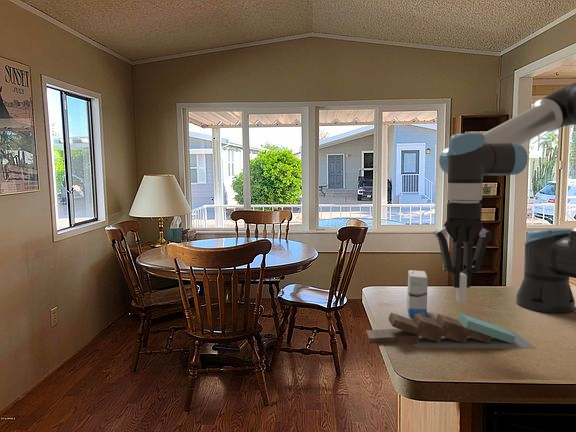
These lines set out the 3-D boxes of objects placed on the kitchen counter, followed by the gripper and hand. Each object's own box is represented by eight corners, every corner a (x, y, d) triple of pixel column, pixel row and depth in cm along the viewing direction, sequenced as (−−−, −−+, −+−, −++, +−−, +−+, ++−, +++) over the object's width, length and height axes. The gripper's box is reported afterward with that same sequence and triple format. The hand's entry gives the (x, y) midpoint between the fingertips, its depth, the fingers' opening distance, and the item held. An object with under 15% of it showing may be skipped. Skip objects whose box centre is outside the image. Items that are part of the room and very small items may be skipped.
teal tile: (505, 328, 108) (460, 313, 108) (515, 336, 103) (468, 320, 103) (502, 335, 108) (457, 320, 108) (512, 343, 103) (465, 327, 103)
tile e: (413, 327, 109) (366, 330, 109) (419, 335, 103) (369, 338, 104) (413, 334, 109) (366, 337, 109) (419, 343, 104) (369, 345, 104)
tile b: (483, 328, 108) (438, 313, 108) (492, 336, 103) (445, 320, 103) (480, 335, 108) (435, 320, 108) (489, 343, 103) (442, 327, 103)
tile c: (460, 328, 108) (415, 313, 108) (467, 336, 103) (420, 320, 103) (457, 335, 108) (412, 319, 108) (465, 343, 103) (418, 327, 103)
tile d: (435, 327, 108) (390, 312, 108) (442, 335, 103) (395, 319, 103) (432, 334, 109) (388, 319, 109) (439, 342, 103) (392, 326, 103)
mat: (514, 333, 110) (515, 331, 110) (535, 349, 100) (536, 348, 100) (405, 333, 111) (405, 331, 111) (415, 349, 101) (415, 347, 101)
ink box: (427, 319, 121) (428, 277, 120) (408, 318, 122) (409, 276, 121) (424, 309, 130) (425, 270, 128) (406, 308, 131) (407, 269, 129)
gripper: (486, 200, 106) (482, 296, 108) (431, 200, 106) (428, 296, 109) (500, 202, 98) (495, 305, 101) (440, 202, 99) (437, 305, 101)
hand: (460, 300), depth 105 cm, fingers closed
